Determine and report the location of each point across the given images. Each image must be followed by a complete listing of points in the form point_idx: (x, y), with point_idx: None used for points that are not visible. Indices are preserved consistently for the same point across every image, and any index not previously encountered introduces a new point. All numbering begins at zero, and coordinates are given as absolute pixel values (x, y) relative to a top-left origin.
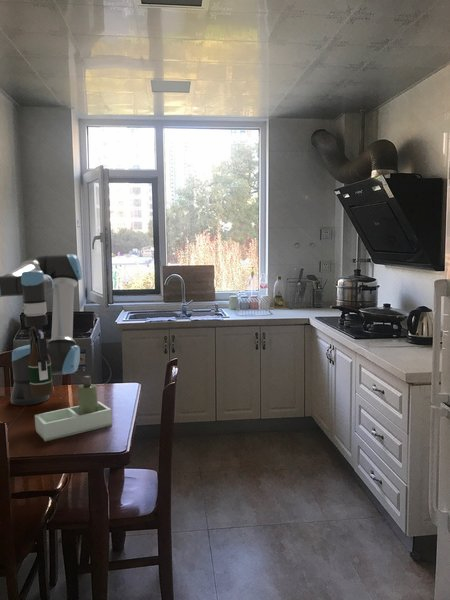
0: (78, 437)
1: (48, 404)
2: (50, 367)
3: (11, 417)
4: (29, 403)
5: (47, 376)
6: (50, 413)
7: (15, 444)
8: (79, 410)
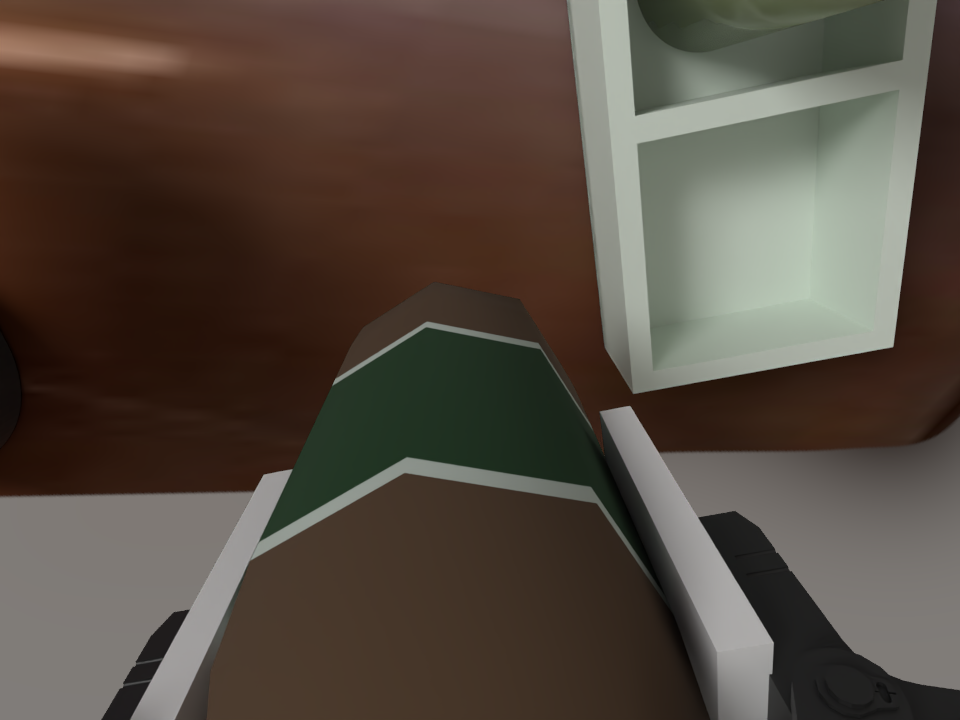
0: None
1: (23, 240)
2: (492, 432)
3: (263, 464)
4: (7, 372)
5: (644, 430)
6: (645, 286)
7: (745, 443)
8: (754, 36)
